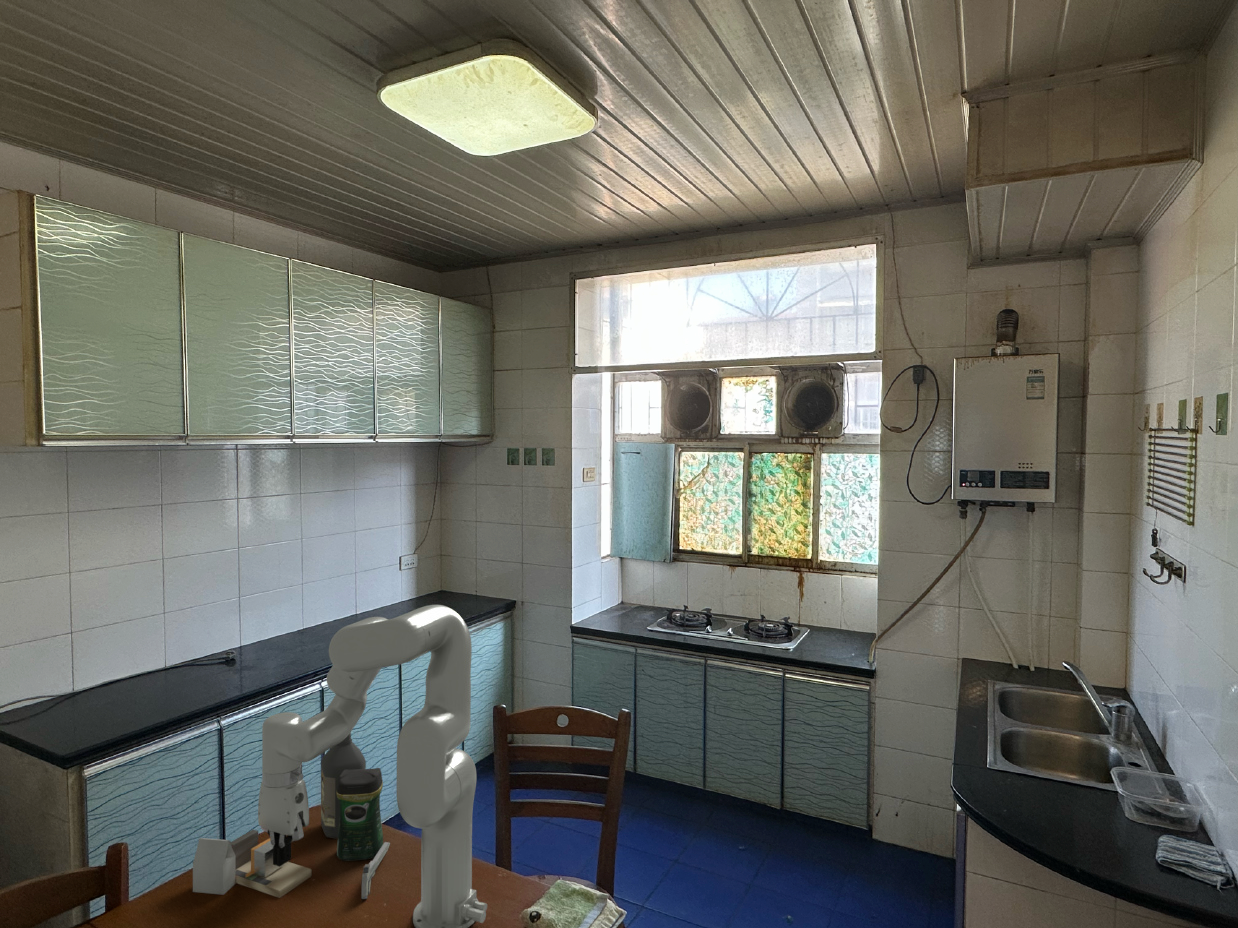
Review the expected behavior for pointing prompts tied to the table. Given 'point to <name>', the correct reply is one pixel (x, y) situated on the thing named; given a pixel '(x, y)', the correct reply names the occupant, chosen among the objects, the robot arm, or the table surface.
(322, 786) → the liquor
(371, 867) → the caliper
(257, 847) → the orange rectangular slab
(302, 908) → the table surface
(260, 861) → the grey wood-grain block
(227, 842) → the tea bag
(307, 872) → the board
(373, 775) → the coffee jar
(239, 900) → the table surface
